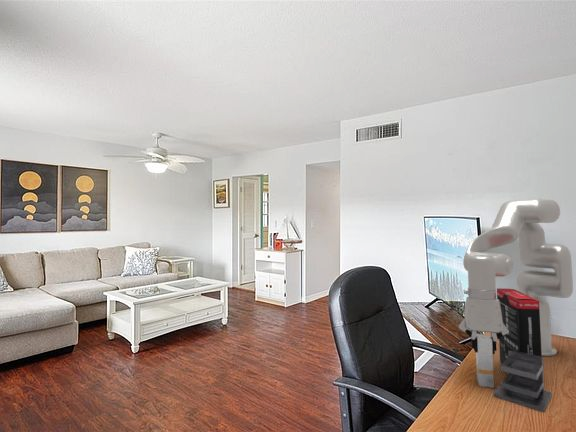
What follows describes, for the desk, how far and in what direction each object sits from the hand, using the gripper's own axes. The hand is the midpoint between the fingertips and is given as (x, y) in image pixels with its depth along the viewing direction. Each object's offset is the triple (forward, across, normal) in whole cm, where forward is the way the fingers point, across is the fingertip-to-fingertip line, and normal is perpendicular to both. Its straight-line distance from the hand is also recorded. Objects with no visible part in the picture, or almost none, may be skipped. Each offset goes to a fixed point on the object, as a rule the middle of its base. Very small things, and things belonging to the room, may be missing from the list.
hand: (484, 351), depth 106 cm
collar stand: (+10, +9, -4) cm, 14 cm away
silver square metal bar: (+10, 0, 0) cm, 10 cm away
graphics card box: (+11, +12, +12) cm, 20 cm away
